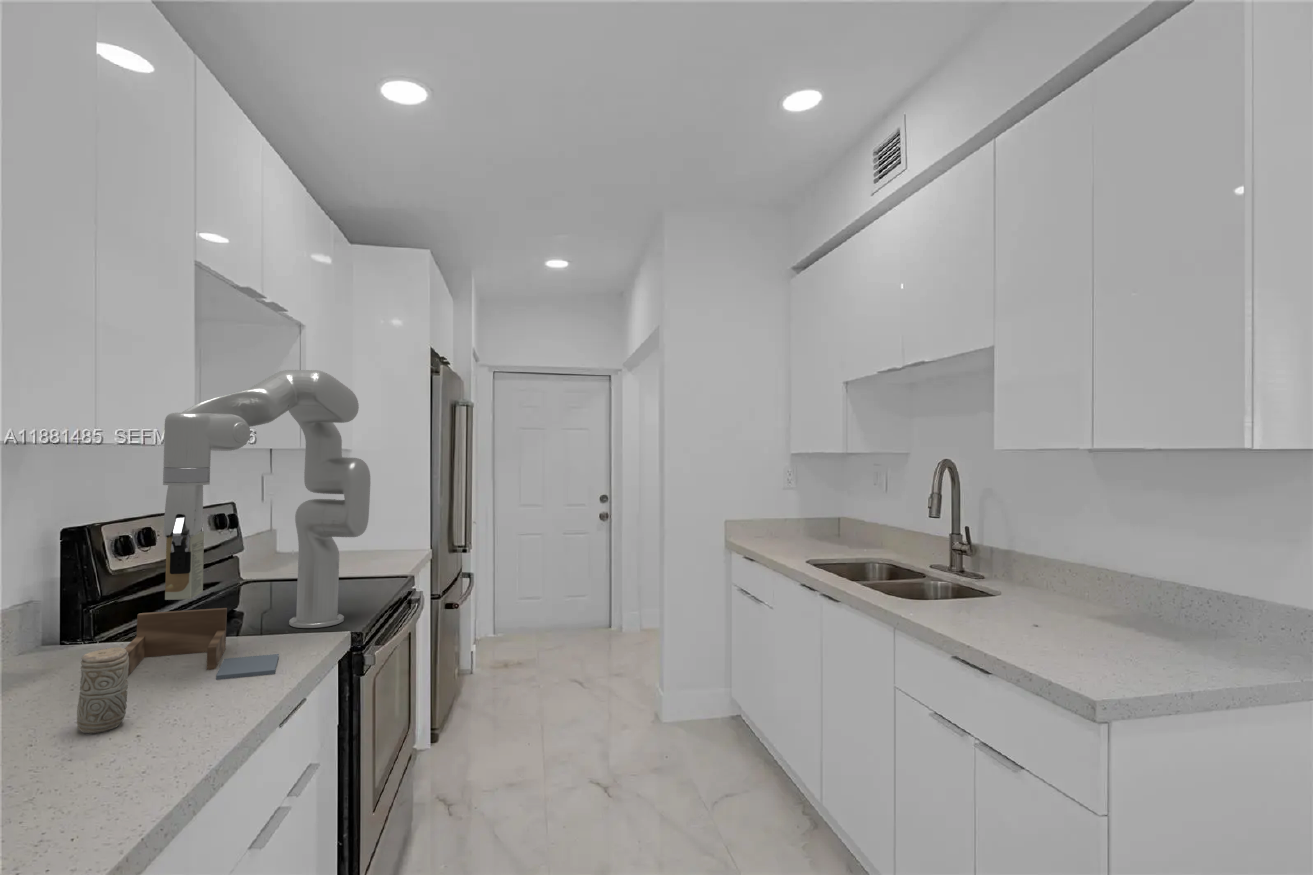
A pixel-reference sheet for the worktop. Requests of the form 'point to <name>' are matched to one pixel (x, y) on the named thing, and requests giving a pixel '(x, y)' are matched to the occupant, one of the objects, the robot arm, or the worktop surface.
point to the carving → (103, 690)
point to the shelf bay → (179, 635)
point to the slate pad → (247, 666)
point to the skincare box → (189, 582)
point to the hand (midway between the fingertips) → (184, 569)
